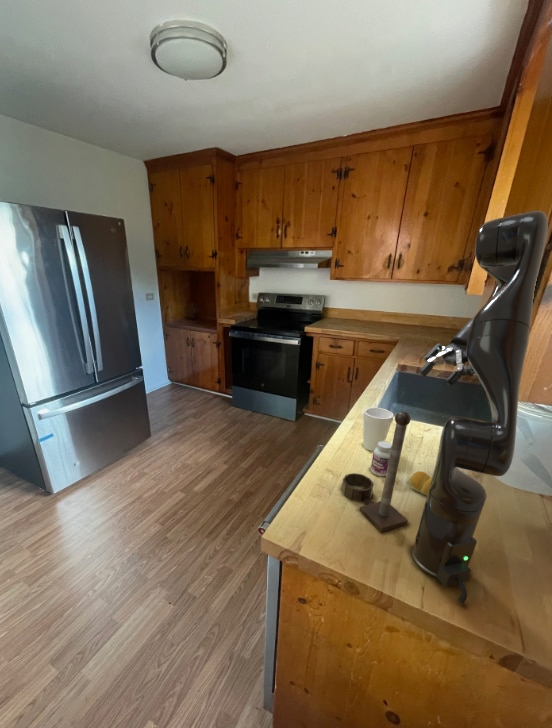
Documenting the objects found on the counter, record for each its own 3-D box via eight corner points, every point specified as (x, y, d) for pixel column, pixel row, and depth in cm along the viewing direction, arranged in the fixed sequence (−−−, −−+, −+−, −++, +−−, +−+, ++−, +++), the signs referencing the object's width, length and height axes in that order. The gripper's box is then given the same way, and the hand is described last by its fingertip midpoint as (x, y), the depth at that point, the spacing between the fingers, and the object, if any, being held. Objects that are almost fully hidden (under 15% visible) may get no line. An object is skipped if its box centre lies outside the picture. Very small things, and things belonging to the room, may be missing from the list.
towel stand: (407, 523, 81) (433, 417, 70) (380, 532, 78) (403, 422, 67) (359, 481, 97) (374, 388, 86) (336, 486, 94) (348, 392, 83)
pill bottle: (368, 473, 100) (373, 445, 97) (372, 465, 104) (377, 438, 101) (387, 478, 98) (392, 450, 94) (390, 470, 102) (395, 443, 98)
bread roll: (436, 502, 88) (439, 490, 87) (403, 486, 94) (406, 474, 93) (448, 489, 93) (451, 477, 92) (416, 475, 99) (419, 464, 98)
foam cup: (353, 442, 118) (358, 409, 113) (375, 438, 121) (381, 406, 116) (369, 455, 110) (375, 420, 105) (392, 451, 112) (399, 417, 107)
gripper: (447, 321, 94) (408, 364, 95) (497, 330, 82) (452, 378, 82) (456, 339, 98) (419, 379, 98) (505, 349, 86) (462, 395, 86)
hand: (434, 379), depth 90 cm, fingers open, 8 cm apart
